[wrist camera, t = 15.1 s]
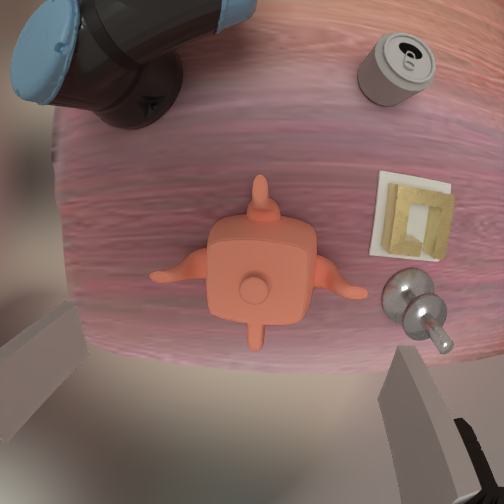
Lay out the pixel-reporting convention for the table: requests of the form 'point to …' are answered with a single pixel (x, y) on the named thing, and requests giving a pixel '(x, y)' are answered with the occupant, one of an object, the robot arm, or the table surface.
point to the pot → (260, 267)
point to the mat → (416, 212)
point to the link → (398, 219)
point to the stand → (417, 307)
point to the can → (396, 69)
